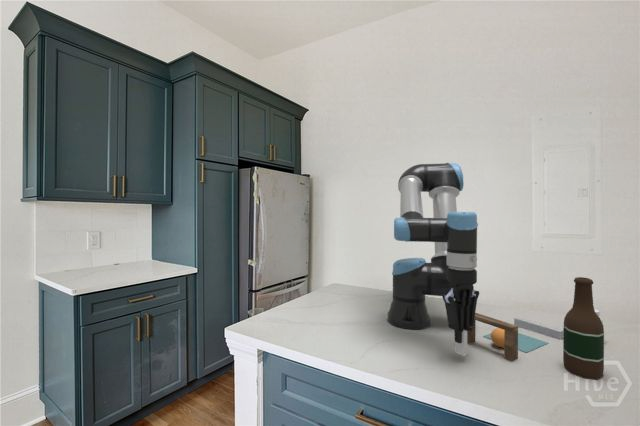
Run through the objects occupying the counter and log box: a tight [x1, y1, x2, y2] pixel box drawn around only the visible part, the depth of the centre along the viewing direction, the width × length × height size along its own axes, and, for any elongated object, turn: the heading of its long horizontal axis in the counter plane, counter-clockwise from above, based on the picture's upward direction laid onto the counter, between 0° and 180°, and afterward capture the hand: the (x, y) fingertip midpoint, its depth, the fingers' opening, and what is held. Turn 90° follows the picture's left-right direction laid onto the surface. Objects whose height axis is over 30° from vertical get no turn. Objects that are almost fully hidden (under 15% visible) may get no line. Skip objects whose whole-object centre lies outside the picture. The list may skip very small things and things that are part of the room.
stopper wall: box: [513, 317, 563, 340], centre depth 102 cm, size 14×2×2 cm, turn 29°
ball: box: [490, 327, 505, 349], centre depth 91 cm, size 6×6×6 cm
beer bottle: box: [562, 276, 605, 381], centre depth 77 cm, size 8×8×24 cm
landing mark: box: [482, 332, 549, 354], centre depth 96 cm, size 13×13×1 cm
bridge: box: [467, 312, 519, 362], centre depth 89 cm, size 3×14×9 cm, turn 30°
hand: (461, 353), depth 82 cm, fingers closed
